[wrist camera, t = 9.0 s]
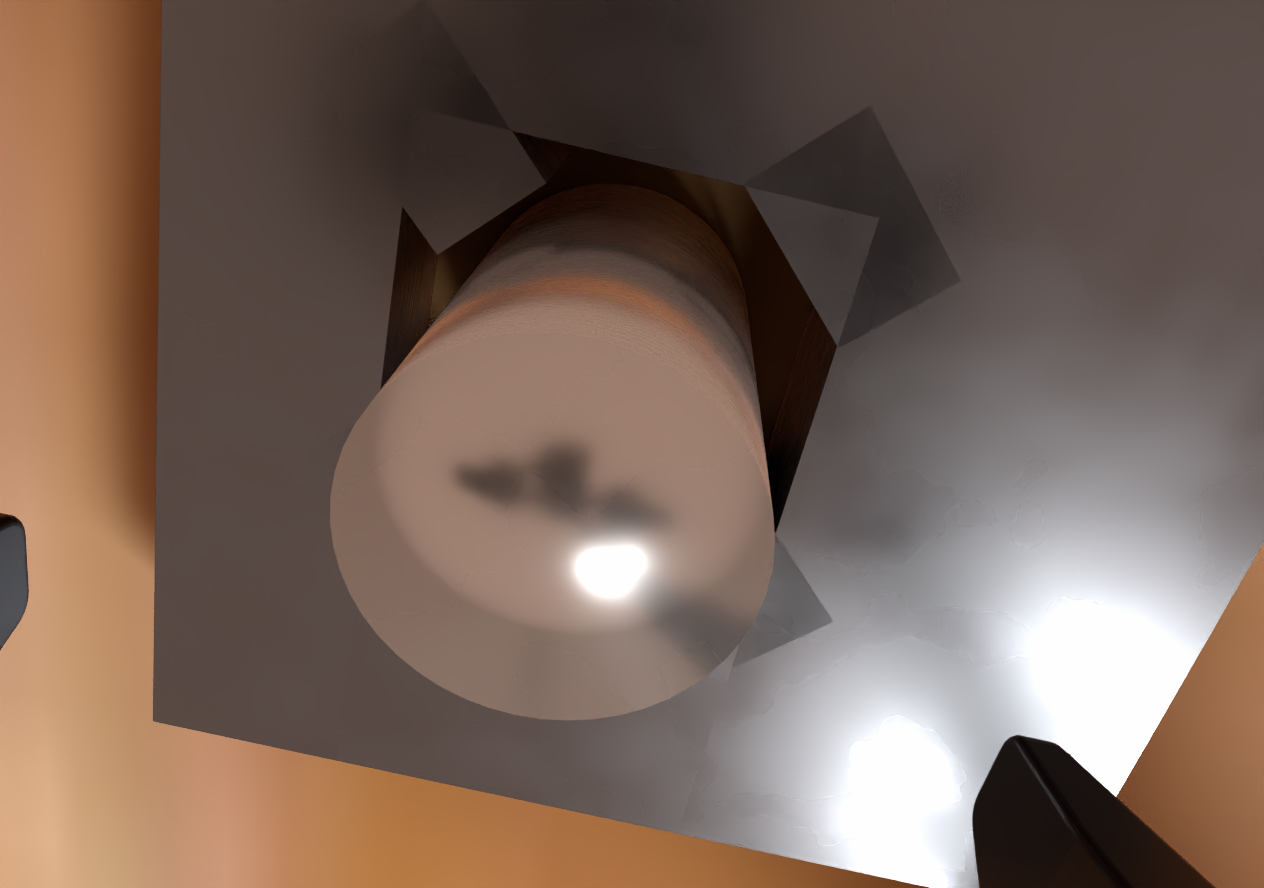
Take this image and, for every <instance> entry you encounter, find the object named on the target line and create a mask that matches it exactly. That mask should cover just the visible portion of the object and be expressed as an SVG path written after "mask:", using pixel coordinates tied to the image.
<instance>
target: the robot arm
mask: <svg viewBox="0 0 1264 888" xmlns="http://www.w3.org/2000/svg"><path fill="white" fill-rule="evenodd" d="M28 593H29V589H28V571H27V553H26V536H25V530H24V527H23V525H22V522H21V521H20V520H19V519H17V518H16V517H15V516H12V515H8V514H3V513H0V650H1V648H2V647H3V645H4V644H5V642H6V641H7V640H8V638H9V637H10V635H11V634H12V632H13V631H14V629H15V628H16V626H17V625H18V623H19V622H20V620H21V618H22V616H23V614H24V612H25V609H26V606H27V601H28ZM972 829H973V838H974V847H975V856H976V865H977V874H978V883H979V888H1215V887H1214V886H1213V885H1212V884H1211V883H1210V882H1209V881H1208V880H1206V879H1205V878H1204V877H1203V876H1202V875H1201V874H1200V873H1199V872H1198V871H1197V870H1195V869H1194V868H1193V867H1192V866H1191V865H1190V864H1189V863H1188V862H1187V861H1186V860H1185V859H1183V858H1182V857H1181V856H1180V855H1179V854H1178V853H1177V852H1176V851H1175V850H1174V849H1172V848H1171V847H1170V846H1169V845H1168V844H1167V843H1166V842H1165V841H1164V840H1163V839H1162V838H1160V837H1159V836H1158V835H1157V834H1156V833H1155V832H1154V831H1153V830H1152V829H1151V828H1149V827H1148V826H1147V825H1146V824H1145V823H1144V822H1143V821H1142V820H1141V819H1140V818H1138V817H1137V816H1136V815H1135V814H1134V813H1133V812H1132V811H1131V810H1130V809H1129V808H1128V807H1126V806H1125V805H1124V804H1123V803H1122V802H1121V801H1120V800H1119V799H1118V798H1117V797H1115V796H1114V795H1113V794H1112V793H1111V792H1110V791H1109V790H1108V789H1107V788H1106V787H1105V786H1103V785H1102V784H1101V783H1100V782H1099V781H1098V780H1097V779H1096V778H1095V777H1094V776H1092V775H1091V774H1090V773H1089V772H1088V771H1087V770H1086V769H1085V768H1084V767H1083V766H1082V765H1080V764H1079V763H1078V762H1077V761H1076V760H1075V759H1074V758H1073V757H1072V756H1071V755H1069V754H1068V753H1067V752H1066V751H1065V750H1064V749H1063V748H1062V747H1060V746H1059V745H1057V744H1055V743H1053V742H1049V741H1045V740H1040V739H1035V738H1031V737H1026V736H1022V735H1015V736H1012V737H1009V738H1008V739H1007V740H1006V741H1005V742H1004V744H1003V745H1002V747H1001V749H1000V751H999V753H998V755H997V757H996V759H995V761H994V763H993V765H992V767H991V769H990V771H989V773H988V775H987V777H986V779H985V781H984V783H983V785H982V787H981V789H980V791H979V793H978V795H977V797H976V800H975V803H974V807H973V813H972Z"/></svg>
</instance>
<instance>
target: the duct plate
mask: <svg viewBox="0 0 1264 888" xmlns="http://www.w3.org/2000/svg"><path fill="white" fill-rule="evenodd" d="M567 144H569V145H573V146H578V147H582V148H586V149H590V150H594V151H599V152H603V153H607V154H611V155H616V156H620V157H624V158H628V159H632V160H637V161H641V162H645V163H649V164H653V165H658V166H662V167H666V168H670V169H675V170H679V171H683V172H687V173H691V174H696V175H700V176H704V177H708V178H713V179H717V180H721V181H725V182H729V183H734V184H738V185H742V186H745V188H746V190H747V191H748V193H749V195H750V196H751V198H752V200H753V202H754V203H755V205H756V207H757V209H758V210H759V212H760V214H761V215H762V217H763V219H764V221H765V222H766V224H767V226H768V227H769V229H770V231H771V233H772V234H773V236H774V238H775V240H776V241H777V243H778V245H779V246H780V248H781V250H782V252H783V253H784V255H785V257H786V258H787V260H788V262H789V264H790V265H791V267H792V269H793V271H794V272H795V274H796V276H797V277H798V279H799V281H800V283H801V284H802V286H803V288H804V289H805V291H806V293H807V295H808V296H809V298H810V300H811V301H812V303H813V305H812V308H811V311H810V315H809V318H808V321H807V324H806V327H805V331H804V334H803V337H802V340H801V344H800V347H799V350H798V353H797V356H796V360H795V363H794V366H793V369H792V372H791V376H790V379H789V382H788V385H787V389H786V392H785V395H784V398H783V401H782V405H781V408H780V411H779V414H778V417H777V421H776V424H775V427H774V430H773V434H772V437H771V440H770V443H769V446H768V450H767V453H766V462H767V470H768V478H769V486H770V494H771V502H772V510H773V518H774V534H775V549H774V560H773V569H772V573H771V577H770V581H769V585H768V589H767V593H766V596H765V598H764V600H763V603H762V605H761V608H760V610H759V612H758V615H757V617H756V618H755V620H754V622H753V623H752V625H751V627H750V628H749V630H748V632H747V633H746V635H745V637H744V638H743V639H742V640H741V641H740V643H739V644H738V645H737V646H736V648H735V649H734V650H733V651H732V653H731V654H730V655H729V656H728V657H727V658H726V659H725V660H724V661H723V662H722V663H721V664H719V665H718V666H717V667H716V668H715V669H714V670H713V671H712V672H711V673H710V674H708V675H707V676H705V677H704V678H703V679H701V680H700V681H698V682H697V683H696V684H694V685H693V686H691V687H690V688H688V689H686V690H684V691H682V692H681V693H679V694H677V695H675V696H673V697H671V698H669V699H667V700H665V701H662V702H660V703H657V704H655V705H652V706H650V707H647V708H645V709H641V710H637V711H634V712H630V713H626V714H622V715H618V716H612V717H605V718H599V719H590V720H568V721H566V720H549V719H538V718H531V717H525V716H519V715H513V714H510V713H506V712H502V711H499V710H495V709H491V708H488V707H485V706H483V705H480V704H477V703H475V702H472V701H469V700H467V699H464V698H462V697H460V696H458V695H456V694H454V693H452V692H450V691H448V690H446V689H444V688H442V687H440V686H439V685H437V684H436V683H434V682H433V681H431V680H429V679H428V678H426V677H425V676H423V675H422V674H420V673H419V672H417V671H416V670H415V669H413V668H412V667H411V666H410V665H409V664H407V663H406V662H405V661H404V660H402V659H401V658H400V657H399V656H397V655H396V654H395V653H394V652H393V650H392V649H391V648H390V647H389V646H388V645H387V644H386V643H385V642H384V641H383V640H382V639H381V638H380V637H379V636H378V635H377V634H376V632H375V631H374V630H373V628H372V627H371V626H370V624H369V623H368V622H367V621H366V619H365V618H364V617H363V615H362V614H361V612H360V610H359V608H358V607H357V605H356V603H355V602H354V600H353V598H352V597H351V595H350V593H349V591H348V588H347V586H346V584H345V581H344V579H343V577H342V574H341V572H340V569H339V566H338V562H337V558H336V555H335V551H334V547H333V541H332V533H331V526H330V496H331V490H332V484H333V478H334V473H335V469H336V466H337V463H338V460H339V457H340V454H341V451H342V448H343V446H344V444H345V442H346V440H347V438H348V436H349V434H350V432H351V431H352V429H353V427H354V425H355V423H356V422H357V420H358V419H359V418H360V416H361V415H362V414H363V412H364V411H365V410H366V408H367V407H368V406H369V404H370V403H371V402H372V400H373V399H374V398H375V396H376V395H377V394H378V393H379V391H380V390H381V389H382V388H383V386H384V385H385V384H386V382H387V381H388V380H389V379H390V377H391V376H392V375H393V373H394V372H395V371H396V370H397V368H398V367H399V366H400V365H401V363H402V362H403V361H404V359H405V358H406V357H407V356H408V354H409V353H410V352H411V351H412V349H413V348H414V347H415V345H416V344H417V343H418V342H419V340H420V339H421V338H422V336H423V335H424V334H425V333H426V331H427V329H428V322H429V314H430V307H431V300H432V292H433V285H434V278H435V270H436V263H437V256H438V254H440V253H441V252H443V251H444V250H446V249H447V248H449V247H450V246H452V245H453V244H455V243H456V242H458V241H459V240H461V239H462V238H464V237H465V236H467V235H468V234H470V233H472V232H473V231H475V230H476V229H478V228H479V227H481V226H482V225H484V224H485V223H487V222H488V221H490V220H491V219H493V218H494V217H496V216H497V215H499V214H500V213H502V212H503V211H505V210H506V209H508V208H510V207H511V206H513V205H514V204H516V203H517V202H519V201H520V200H522V199H523V198H525V197H526V196H528V195H529V194H531V193H532V192H534V191H535V190H537V189H538V188H540V187H541V186H543V185H545V184H546V183H547V182H548V180H549V179H550V178H551V176H552V175H553V174H554V173H555V171H556V170H557V169H558V167H559V166H560V165H561V163H562V162H563V161H564V159H565V158H566V157H567V155H568V154H569V153H570V152H571V149H570V148H569V146H568V145H567ZM1263 543H1264V0H162V18H161V100H160V182H159V264H158V347H157V429H156V511H155V594H154V676H153V721H155V722H159V723H164V724H169V725H173V726H178V727H183V728H187V729H192V730H197V731H201V732H206V733H211V734H215V735H220V736H225V737H229V738H234V739H239V740H243V741H248V742H253V743H257V744H262V745H267V746H271V747H276V748H281V749H285V750H290V751H295V752H299V753H304V754H309V755H313V756H318V757H323V758H327V759H332V760H337V761H341V762H346V763H351V764H355V765H360V766H365V767H369V768H374V769H379V770H383V771H388V772H393V773H397V774H402V775H407V776H411V777H416V778H421V779H425V780H430V781H435V782H439V783H444V784H449V785H453V786H458V787H463V788H467V789H472V790H477V791H481V792H486V793H491V794H495V795H500V796H505V797H509V798H514V799H519V800H524V801H528V802H533V803H538V804H542V805H547V806H552V807H556V808H561V809H566V810H570V811H575V812H580V813H584V814H589V815H594V816H598V817H603V818H608V819H612V820H617V821H622V822H626V823H631V824H636V825H640V826H645V827H650V828H654V829H659V830H664V831H668V832H673V833H678V834H682V835H687V836H692V837H696V838H701V839H706V840H710V841H715V842H720V843H724V844H729V845H734V846H738V847H743V848H748V849H752V850H757V851H762V852H766V853H771V854H776V855H780V856H785V857H790V858H794V859H799V860H804V861H808V862H813V863H818V864H822V865H827V866H832V867H836V868H841V869H846V870H850V871H855V872H860V873H864V874H869V875H874V876H878V877H883V878H888V879H892V880H897V881H902V882H906V883H911V884H916V885H920V886H925V887H930V888H979V883H978V874H977V865H976V856H975V847H974V838H973V829H972V813H973V807H974V803H975V800H976V797H977V795H978V793H979V791H980V789H981V787H982V785H983V783H984V781H985V779H986V777H987V775H988V773H989V771H990V769H991V767H992V765H993V763H994V761H995V759H996V757H997V755H998V753H999V751H1000V749H1001V747H1002V745H1003V744H1004V742H1005V741H1006V740H1007V739H1008V738H1009V737H1012V736H1015V735H1022V736H1026V737H1031V738H1035V739H1040V740H1045V741H1049V742H1053V743H1055V744H1057V745H1059V746H1060V747H1062V748H1063V749H1064V750H1065V751H1066V752H1067V753H1068V754H1069V755H1071V756H1072V757H1073V758H1074V759H1075V760H1076V761H1077V762H1078V763H1079V764H1080V765H1082V766H1083V767H1084V768H1085V769H1086V770H1087V771H1088V772H1089V773H1090V774H1091V775H1092V776H1094V777H1095V778H1096V779H1097V780H1098V781H1099V782H1100V783H1101V784H1102V785H1103V786H1105V787H1106V788H1107V789H1108V790H1109V791H1110V792H1111V793H1112V794H1113V795H1114V796H1115V797H1116V796H1117V795H1118V793H1119V791H1120V789H1121V788H1122V786H1123V784H1124V782H1125V781H1126V779H1127V777H1128V776H1129V774H1130V772H1131V770H1132V769H1133V767H1134V765H1135V763H1136V762H1137V760H1138V758H1139V757H1140V755H1141V753H1142V751H1143V750H1144V748H1145V746H1146V745H1147V743H1148V741H1149V739H1150V738H1151V736H1152V734H1153V732H1154V731H1155V729H1156V727H1157V726H1158V724H1159V722H1160V720H1161V719H1162V717H1163V715H1164V713H1165V712H1166V710H1167V708H1168V707H1169V705H1170V703H1171V701H1172V700H1173V698H1174V696H1175V695H1176V693H1177V691H1178V689H1179V688H1180V686H1181V684H1182V682H1183V681H1184V679H1185V677H1186V676H1187V674H1188V672H1189V670H1190V669H1191V667H1192V665H1193V663H1194V662H1195V660H1196V658H1197V657H1198V655H1199V653H1200V651H1201V650H1202V648H1203V646H1204V644H1205V643H1206V641H1207V639H1208V638H1209V636H1210V634H1211V632H1212V631H1213V629H1214V627H1215V626H1216V624H1217V622H1218V620H1219V619H1220V617H1221V615H1222V613H1223V612H1224V610H1225V608H1226V607H1227V605H1228V603H1229V601H1230V600H1231V598H1232V596H1233V594H1234V593H1235V591H1236V589H1237V588H1238V586H1239V584H1240V582H1241V581H1242V579H1243V577H1244V575H1245V574H1246V572H1247V570H1248V569H1249V567H1250V565H1251V563H1252V562H1253V560H1254V558H1255V557H1256V555H1257V553H1258V551H1259V550H1260V548H1261V546H1262V544H1263Z"/></svg>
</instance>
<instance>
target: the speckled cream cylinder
mask: <svg viewBox="0 0 1264 888" xmlns="http://www.w3.org/2000/svg"><path fill="white" fill-rule="evenodd" d="M330 526H331V533H332V541H333V547H334V551H335V555H336V558H337V562H338V566H339V569H340V572H341V574H342V577H343V579H344V581H345V584H346V586H347V588H348V591H349V593H350V595H351V597H352V598H353V600H354V602H355V603H356V605H357V607H358V608H359V610H360V612H361V614H362V615H363V617H364V618H365V619H366V621H367V622H368V623H369V624H370V626H371V627H372V628H373V630H374V631H375V632H376V634H377V635H378V636H379V637H380V638H381V639H382V640H383V641H384V642H385V643H386V644H387V645H388V646H389V647H390V648H391V649H392V650H393V652H394V653H395V654H396V655H397V656H399V657H400V658H401V659H402V660H404V661H405V662H406V663H407V664H409V665H410V666H411V667H412V668H413V669H415V670H416V671H417V672H419V673H420V674H422V675H423V676H425V677H426V678H428V679H429V680H431V681H433V682H434V683H436V684H437V685H439V686H440V687H442V688H444V689H446V690H448V691H450V692H452V693H454V694H456V695H458V696H460V697H462V698H464V699H467V700H469V701H472V702H475V703H477V704H480V705H483V706H485V707H488V708H491V709H495V710H499V711H502V712H506V713H510V714H513V715H519V716H525V717H531V718H538V719H549V720H566V721H568V720H590V719H599V718H605V717H612V716H618V715H622V714H626V713H630V712H634V711H637V710H641V709H645V708H647V707H650V706H652V705H655V704H657V703H660V702H662V701H665V700H667V699H669V698H671V697H673V696H675V695H677V694H679V693H681V692H682V691H684V690H686V689H688V688H690V687H691V686H693V685H694V684H696V683H697V682H698V681H700V680H701V679H703V678H704V677H705V676H707V675H708V674H710V673H711V672H712V671H713V670H714V669H715V668H716V667H717V666H718V665H719V664H721V663H722V662H723V661H724V660H725V659H726V658H727V657H728V656H729V655H730V654H731V653H732V651H733V650H734V649H735V648H736V646H737V645H738V644H739V643H740V641H741V640H742V639H743V638H744V637H745V635H746V633H747V632H748V630H749V628H750V627H751V625H752V623H753V622H754V620H755V618H756V617H757V615H758V612H759V610H760V608H761V605H762V603H763V600H764V598H765V596H766V593H767V589H768V585H769V581H770V577H771V573H772V569H773V560H774V549H775V534H774V518H773V510H772V502H771V494H770V486H769V478H768V470H767V462H766V454H765V446H764V438H763V430H762V422H761V414H760V406H759V398H758V390H757V382H756V374H755V366H754V358H753V350H752V342H751V334H750V326H749V318H748V310H747V302H746V297H745V292H744V287H743V283H742V280H741V277H740V274H739V271H738V269H737V266H736V264H735V262H734V260H733V258H732V256H731V254H730V253H729V251H728V249H727V248H726V246H725V245H724V243H723V242H722V241H721V239H720V238H719V236H718V235H717V234H716V233H715V232H714V231H713V230H712V229H711V228H710V226H709V225H708V224H707V223H706V222H705V221H703V220H702V219H701V218H700V217H699V216H697V215H696V214H695V213H694V212H693V211H691V210H690V209H688V208H687V207H685V206H684V205H682V204H680V203H679V202H677V201H676V200H673V199H671V198H669V197H667V196H665V195H662V194H660V193H658V192H655V191H651V190H648V189H645V188H641V187H636V186H630V185H624V184H593V185H584V186H580V187H576V188H572V189H568V190H565V191H562V192H560V193H557V194H554V195H552V196H549V197H548V198H546V199H544V200H542V201H541V202H539V203H537V204H535V205H533V206H532V207H531V208H529V209H528V210H527V211H526V212H524V213H523V214H522V215H520V216H519V217H518V218H517V219H516V220H515V221H514V222H513V223H512V224H511V225H510V226H509V227H508V228H507V229H506V231H505V232H504V233H503V234H502V236H501V237H500V238H499V240H498V241H497V242H496V243H495V245H494V246H493V247H492V248H491V250H490V251H489V252H488V254H487V255H486V256H485V257H484V259H483V260H482V261H481V262H480V264H479V265H478V266H477V268H476V269H475V270H474V271H473V273H472V274H471V275H470V277H469V278H468V279H467V280H466V282H465V283H464V284H463V285H462V287H461V288H460V289H459V291H458V292H457V293H456V294H455V296H454V297H453V298H452V299H451V301H450V302H449V303H448V305H447V306H446V307H445V308H444V310H443V311H442V312H441V314H440V315H439V316H438V317H437V319H436V320H435V321H434V322H433V324H432V325H431V326H430V328H429V329H428V330H427V331H426V333H425V334H424V335H423V336H422V338H421V339H420V340H419V342H418V343H417V344H416V345H415V347H414V348H413V349H412V351H411V352H410V353H409V354H408V356H407V357H406V358H405V359H404V361H403V362H402V363H401V365H400V366H399V367H398V368H397V370H396V371H395V372H394V373H393V375H392V376H391V377H390V379H389V380H388V381H387V382H386V384H385V385H384V386H383V388H382V389H381V390H380V391H379V393H378V394H377V395H376V396H375V398H374V399H373V400H372V402H371V403H370V404H369V406H368V407H367V408H366V410H365V411H364V412H363V414H362V415H361V416H360V418H359V419H358V420H357V422H356V423H355V425H354V427H353V429H352V431H351V432H350V434H349V436H348V438H347V440H346V442H345V444H344V446H343V448H342V451H341V454H340V457H339V460H338V463H337V466H336V469H335V473H334V478H333V484H332V490H331V496H330Z"/></svg>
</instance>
